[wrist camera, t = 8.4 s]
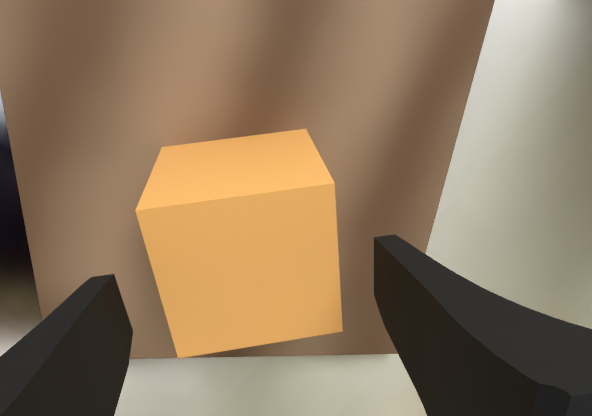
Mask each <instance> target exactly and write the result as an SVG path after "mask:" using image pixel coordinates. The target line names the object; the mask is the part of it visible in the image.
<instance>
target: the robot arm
mask: <svg viewBox="0 0 592 416" xmlns="http://www.w3.org/2000/svg"><path fill="white" fill-rule="evenodd" d="M374 297H375V300H376V303H377V306H378V309H379V312H380V315H381V318H382V321H383V323H384V326H385V328H386V330H387V332H388V334H389V336H390V338H391V340H392V342H393V344H394V346H395V348H396V350H397V352H398V354H399V356H400V358H401V360H402V362H403V364H404V366H405V368H406V370H407V372H408V374H409V376H410V378H411V380H412V382H413V384H414V386H415V388H416V390H417V393H418V395H419V397H420V399H421V401H422V404H423V406H424V408H425V411H426V414H427V416H592V329H589V328H585V327H582V326H578V325H575V324H572V323H569V322H566V321H562V320H559V319H556V318H553V317H551V316H548V315H545V314H542V313H540V312H537V311H534V310H532V309H529V308H526V307H524V306H521V305H519V304H516V303H514V302H512V301H510V300H507V299H505V298H503V297H501V296H499V295H496V294H494V293H492V292H490V291H488V290H486V289H484V288H482V287H480V286H478V285H476V284H474V283H472V282H471V281H469V280H467V279H465V278H463V277H461V276H460V275H458V274H456V273H455V272H453V271H451V270H449V269H448V268H446V267H445V266H443V265H441V264H440V263H438V262H437V261H435V260H433V259H432V258H430V257H429V256H427V255H426V254H424V253H423V252H421V251H420V250H418V249H417V248H415V247H414V246H412V245H411V244H409V243H408V242H406V241H405V240H403V239H402V238H400V237H398V236H397V235H395V234H394V235H386V236H379V237H374ZM132 337H133V329H132V326H131V323H130V320H129V317H128V314H127V311H126V308H125V305H124V302H123V299H122V296H121V293H120V290H119V287H118V284H117V281H116V278H115V275H114V274H109V275H102V276H95V277H91V278H89V279H88V280H87V281H86V282H84V283H83V284H82V285H81V286H80V287H79V288H78V289H76V290H75V291H74V292H73V293H72V294H71V295H70V296H69V297H68V298H67V299H66V300H65V301H63V302H62V303H61V304H60V305H59V306H58V307H57V308H56V309H55V310H54V311H53V312H52V313H50V314H49V315H48V316H47V317H46V318H45V319H44V320H43V321H42V322H41V323H39V324H38V325H37V326H36V327H35V328H34V329H33V330H31V331H30V332H29V333H28V334H27V335H26V336H24V337H23V338H22V339H21V340H20V341H18V342H17V343H16V344H15V345H14V346H13V347H11V348H10V349H9V350H8V351H7V352H5V353H4V354H3V355H2V356H1V357H0V416H114V414H115V410H116V407H117V403H118V400H119V397H120V393H121V390H122V386H123V383H124V379H125V376H126V372H127V368H128V365H129V358H130V352H131V345H132Z"/></svg>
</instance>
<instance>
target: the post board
mask: <svg viewBox="0 0 592 416" xmlns="http://www.w3.org/2000/svg"><path fill="white" fill-rule="evenodd" d="M494 1H495V0H0V90H1V96H2V101H3V107H4V112H5V118H6V123H7V129H8V134H9V140H10V145H11V151H12V156H13V162H14V167H15V173H16V178H17V184H18V189H19V195H20V200H21V206H22V211H23V216H24V222H25V227H26V233H27V238H28V244H29V249H30V255H31V260H32V266H33V271H34V277H35V282H36V288H37V293H38V299H39V304H40V310H41V315H42V321H43V320H44V319H45V318H46V317H47V316H48V315H49V314H50V313H52V312H53V311H54V310H55V309H56V308H57V307H58V306H59V305H60V304H61V303H62V302H63V301H65V300H66V299H67V298H68V297H69V296H70V295H71V294H72V293H73V292H74V291H75V290H76V289H78V288H79V287H80V286H81V285H82V284H83V283H84V282H86V281H87V280H88V279H89V278H91V277H95V276H102V275H109V274H114V275H115V278H116V281H117V284H118V287H119V290H120V293H121V296H122V299H123V302H124V305H125V308H126V311H127V314H128V317H129V320H130V323H131V326H132V329H133V337H132V345H131V352H130V358H129V359H142V358H178V356H177V353H176V349H175V346H174V342H173V339H172V335H171V332H170V328H169V325H168V322H167V318H166V315H165V311H164V308H163V304H162V301H161V297H160V294H159V291H158V287H157V284H156V280H155V277H154V273H153V270H152V266H151V263H150V260H149V256H148V253H147V249H146V246H145V242H144V239H143V235H142V232H141V229H140V225H139V222H138V218H137V215H136V211H135V210H136V208H137V205H138V203H139V201H140V198H141V196H142V193H143V191H144V189H145V186H146V184H147V181H148V179H149V177H150V174H151V172H152V169H153V167H154V165H155V162H156V160H157V157H158V155H159V153H160V150H161V148H162V147H167V146H174V145H182V144H190V143H198V142H206V141H214V140H221V139H229V138H237V137H245V136H253V135H261V134H268V133H276V132H284V131H292V130H300V129H306V130H307V132H308V134H309V135H310V137H311V139H312V141H313V143H314V145H315V147H316V149H317V151H318V152H319V154H320V156H321V158H322V160H323V162H324V164H325V166H326V168H327V169H328V171H329V173H330V175H331V177H332V179H333V181H334V183H335V198H336V217H337V235H338V254H339V272H340V291H341V309H342V328H343V332H337V333H331V334H325V335H318V336H312V337H306V338H300V339H294V340H288V341H282V342H276V343H270V344H264V345H258V346H252V347H246V348H240V349H234V350H227V351H221V352H215V353H209V354H203V355H197V356H191V357H185V358H195V357H247V356H299V355H351V354H398V352H397V350H396V348H395V346H394V344H393V342H392V340H391V338H390V336H389V334H388V332H387V330H386V328H385V326H384V323H383V321H382V318H381V315H380V312H379V309H378V306H377V303H376V300H375V297H374V237H379V236H386V235H394V234H395V235H397V236H398V237H400V238H402V239H403V240H405V241H406V242H408V243H409V244H411V245H412V246H414V247H415V248H417V249H418V250H420V251H421V252H423V253H424V254H425V252H426V248H427V245H428V241H429V237H430V234H431V230H432V226H433V223H434V219H435V215H436V212H437V208H438V204H439V201H440V197H441V194H442V190H443V186H444V183H445V179H446V175H447V172H448V168H449V164H450V161H451V157H452V154H453V150H454V146H455V143H456V139H457V135H458V132H459V128H460V124H461V121H462V117H463V113H464V110H465V106H466V103H467V99H468V95H469V92H470V88H471V84H472V81H473V77H474V73H475V70H476V66H477V63H478V59H479V55H480V52H481V48H482V44H483V41H484V37H485V33H486V30H487V26H488V22H489V19H490V15H491V12H492V8H493V4H494Z"/></svg>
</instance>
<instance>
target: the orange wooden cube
mask: <svg viewBox="0 0 592 416" xmlns="http://www.w3.org/2000/svg"><path fill="white" fill-rule="evenodd" d="M135 211H136V215H137V218H138V222H139V225H140V229H141V232H142V235H143V239H144V242H145V246H146V249H147V253H148V256H149V260H150V263H151V266H152V270H153V273H154V277H155V280H156V284H157V287H158V291H159V294H160V297H161V301H162V304H163V308H164V311H165V315H166V318H167V322H168V325H169V328H170V332H171V335H172V339H173V342H174V346H175V349H176V353H177V356H178V359H179V358H185V357H191V356H197V355H203V354H209V353H215V352H221V351H227V350H234V349H240V348H246V347H252V346H258V345H264V344H270V343H276V342H282V341H288V340H294V339H300V338H306V337H312V336H318V335H325V334H331V333H337V332H343V328H342V309H341V291H340V272H339V254H338V235H337V217H336V198H335V183H334V181H333V179H332V177H331V175H330V173H329V171H328V169H327V168H326V166H325V164H324V162H323V160H322V158H321V156H320V154H319V152H318V151H317V149H316V147H315V145H314V143H313V141H312V139H311V137H310V135H309V134H308V132H307V130H306V129H300V130H292V131H284V132H276V133H268V134H261V135H253V136H245V137H237V138H229V139H221V140H214V141H206V142H198V143H190V144H182V145H174V146H167V147H162V148H161V150H160V153H159V155H158V157H157V160H156V162H155V165H154V167H153V169H152V172H151V174H150V177H149V179H148V181H147V184H146V186H145V189H144V191H143V193H142V196H141V198H140V201H139V203H138V205H137V208H136V210H135Z"/></svg>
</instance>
